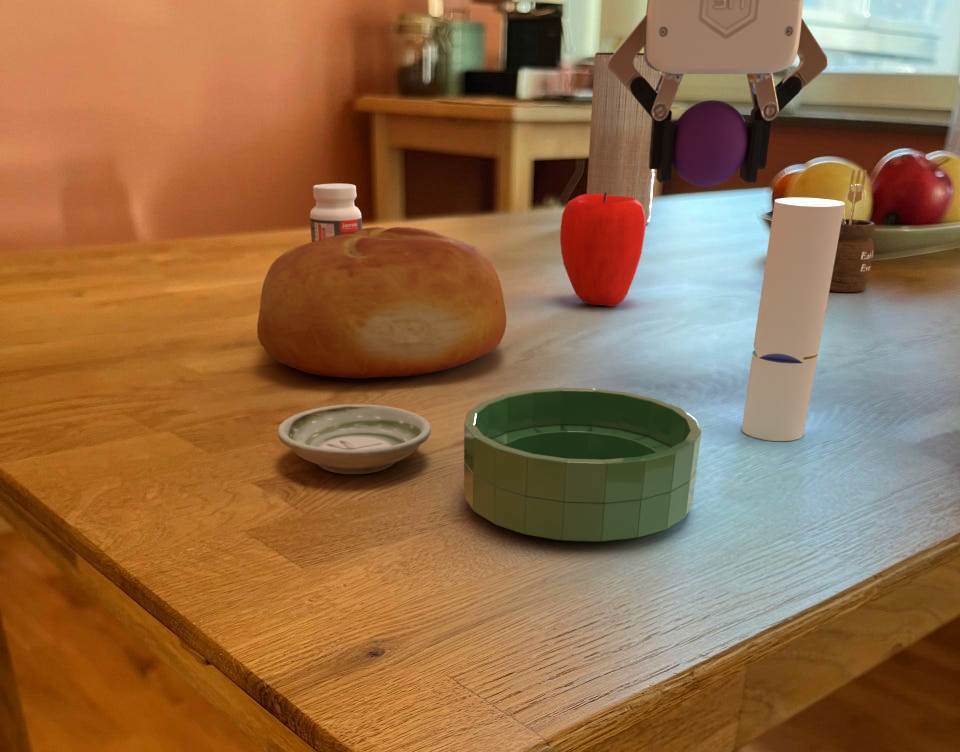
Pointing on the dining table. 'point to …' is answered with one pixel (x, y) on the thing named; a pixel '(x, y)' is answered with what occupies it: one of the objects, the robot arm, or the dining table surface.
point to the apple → (602, 246)
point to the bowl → (580, 463)
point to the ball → (709, 143)
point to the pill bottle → (334, 211)
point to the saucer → (354, 436)
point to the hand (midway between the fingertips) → (705, 178)
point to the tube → (791, 316)
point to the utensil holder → (853, 246)
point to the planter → (620, 136)
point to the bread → (381, 304)
